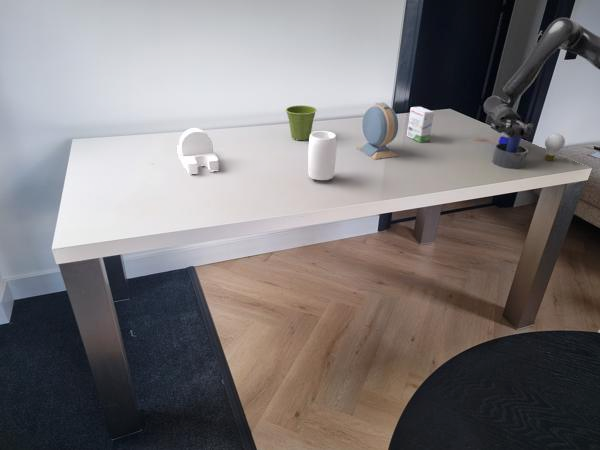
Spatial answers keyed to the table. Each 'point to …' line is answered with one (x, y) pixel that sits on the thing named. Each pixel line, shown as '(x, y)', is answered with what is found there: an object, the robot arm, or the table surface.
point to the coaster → (482, 140)
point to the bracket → (196, 151)
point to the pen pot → (509, 157)
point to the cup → (322, 155)
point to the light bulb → (553, 145)
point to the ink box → (420, 124)
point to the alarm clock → (379, 131)
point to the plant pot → (301, 121)
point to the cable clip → (506, 140)
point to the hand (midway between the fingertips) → (518, 134)
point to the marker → (514, 138)
